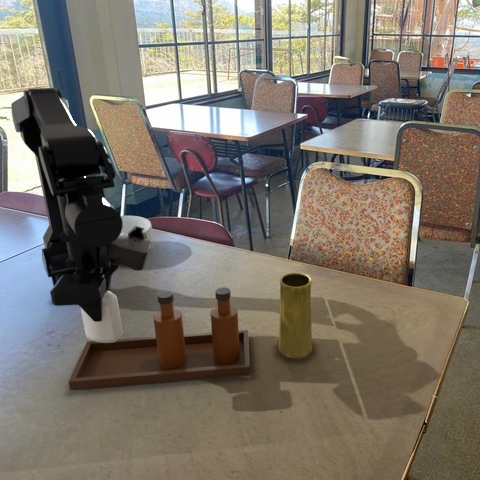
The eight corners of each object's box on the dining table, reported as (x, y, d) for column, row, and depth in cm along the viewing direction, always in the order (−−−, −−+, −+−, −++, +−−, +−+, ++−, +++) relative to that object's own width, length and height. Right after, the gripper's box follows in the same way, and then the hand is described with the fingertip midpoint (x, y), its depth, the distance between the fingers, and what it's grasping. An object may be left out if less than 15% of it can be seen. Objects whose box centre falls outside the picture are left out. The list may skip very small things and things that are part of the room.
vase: (286, 364, 82) (286, 291, 76) (272, 345, 87) (271, 275, 81) (318, 355, 85) (320, 284, 79) (303, 336, 90) (304, 268, 84)
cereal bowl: (95, 240, 127) (91, 215, 124) (160, 239, 129) (157, 214, 126) (72, 269, 112) (66, 241, 109) (146, 267, 113) (142, 240, 111)
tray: (70, 392, 74) (68, 381, 74) (89, 351, 84) (87, 341, 83) (250, 377, 79) (249, 366, 78) (248, 339, 88) (247, 329, 88)
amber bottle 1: (157, 369, 79) (148, 302, 74) (161, 353, 83) (152, 288, 78) (185, 367, 80) (177, 300, 74) (187, 351, 84) (180, 286, 78)
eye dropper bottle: (100, 350, 74) (88, 282, 70) (83, 335, 78) (70, 269, 73) (126, 338, 78) (116, 272, 73) (108, 324, 81) (98, 260, 76)
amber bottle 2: (213, 365, 80) (208, 298, 75) (214, 349, 84) (209, 285, 79) (239, 363, 81) (236, 296, 76) (239, 347, 85) (236, 283, 80)
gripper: (130, 246, 62) (144, 345, 69) (152, 199, 79) (162, 282, 86) (38, 250, 61) (61, 351, 67) (80, 201, 77) (96, 286, 84)
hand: (101, 313), depth 76 cm, fingers closed on eye dropper bottle, 4 cm apart
